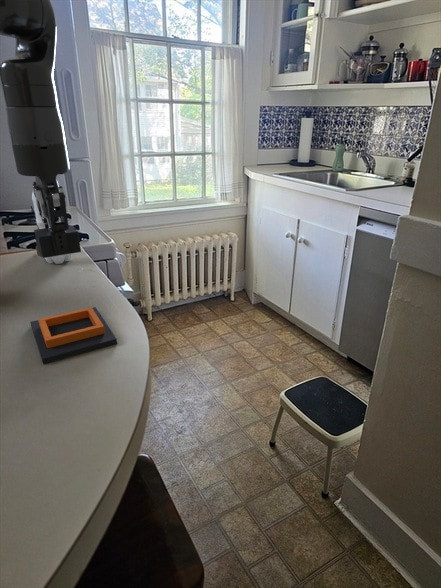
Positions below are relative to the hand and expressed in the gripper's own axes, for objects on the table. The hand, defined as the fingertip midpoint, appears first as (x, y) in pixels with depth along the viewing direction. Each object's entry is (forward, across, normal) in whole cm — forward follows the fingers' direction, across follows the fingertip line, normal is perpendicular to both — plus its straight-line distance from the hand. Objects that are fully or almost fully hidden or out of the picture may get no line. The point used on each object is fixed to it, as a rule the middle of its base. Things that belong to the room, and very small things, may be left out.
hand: (58, 248), depth 66 cm
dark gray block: (0, 0, 0) cm, 0 cm away
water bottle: (+15, -39, +5) cm, 42 cm away
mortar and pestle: (+15, -47, +4) cm, 49 cm away
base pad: (+15, +2, -1) cm, 16 cm away
